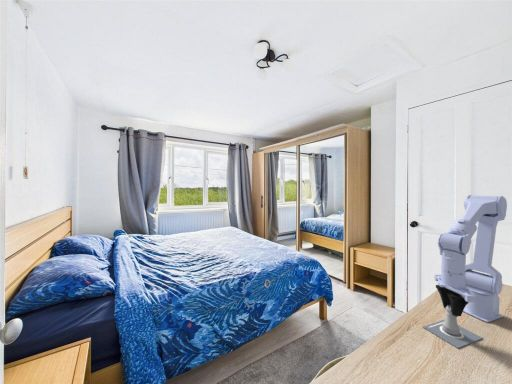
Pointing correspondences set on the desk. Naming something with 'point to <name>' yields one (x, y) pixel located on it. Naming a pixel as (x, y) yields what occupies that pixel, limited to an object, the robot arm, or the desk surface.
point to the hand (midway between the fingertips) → (452, 311)
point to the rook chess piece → (450, 322)
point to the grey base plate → (455, 340)
